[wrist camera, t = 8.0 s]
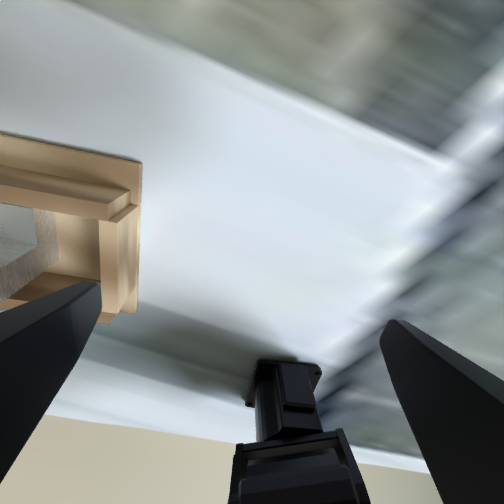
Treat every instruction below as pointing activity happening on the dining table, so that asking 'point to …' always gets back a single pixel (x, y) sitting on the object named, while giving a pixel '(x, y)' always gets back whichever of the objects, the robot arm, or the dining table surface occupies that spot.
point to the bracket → (25, 246)
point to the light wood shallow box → (79, 218)
